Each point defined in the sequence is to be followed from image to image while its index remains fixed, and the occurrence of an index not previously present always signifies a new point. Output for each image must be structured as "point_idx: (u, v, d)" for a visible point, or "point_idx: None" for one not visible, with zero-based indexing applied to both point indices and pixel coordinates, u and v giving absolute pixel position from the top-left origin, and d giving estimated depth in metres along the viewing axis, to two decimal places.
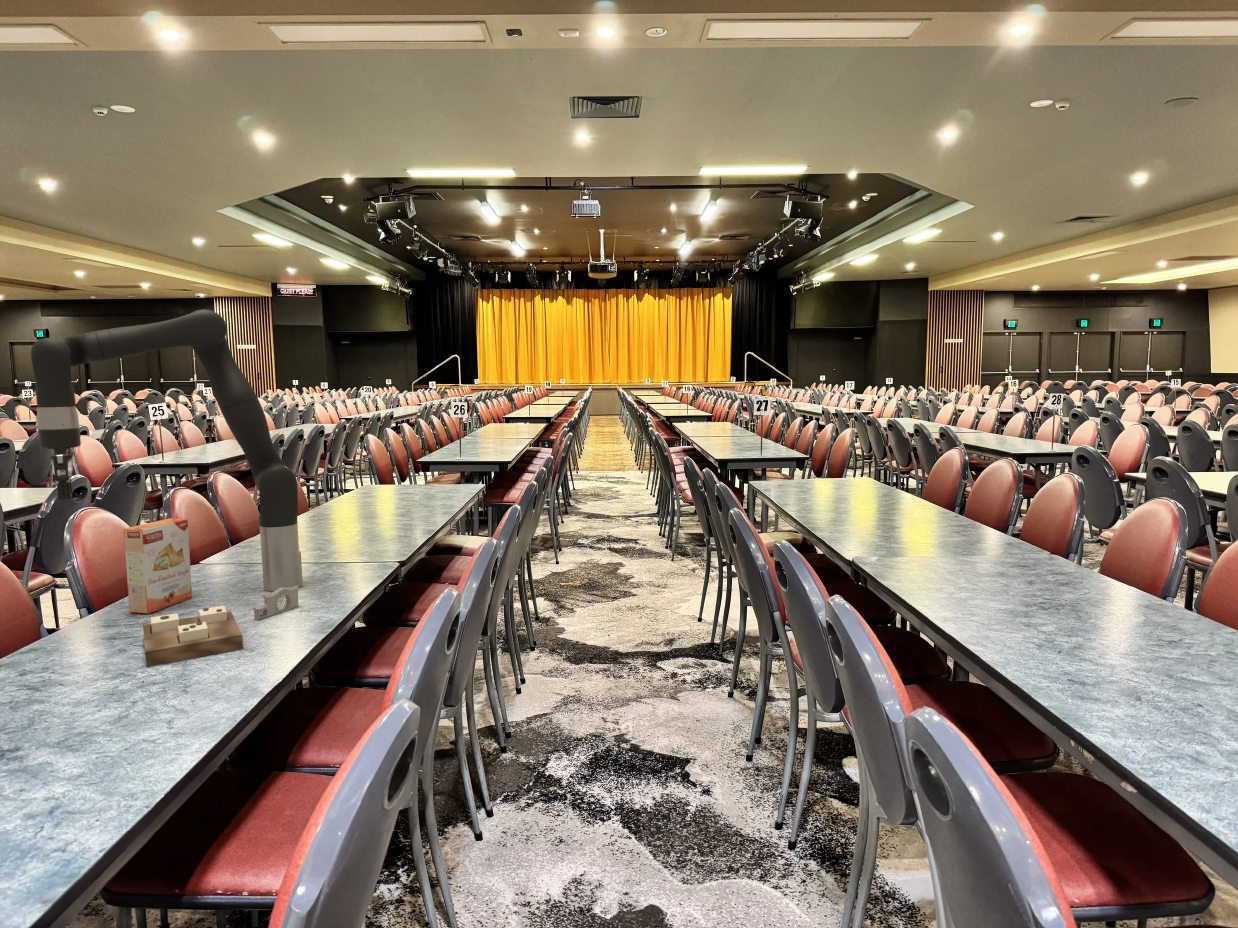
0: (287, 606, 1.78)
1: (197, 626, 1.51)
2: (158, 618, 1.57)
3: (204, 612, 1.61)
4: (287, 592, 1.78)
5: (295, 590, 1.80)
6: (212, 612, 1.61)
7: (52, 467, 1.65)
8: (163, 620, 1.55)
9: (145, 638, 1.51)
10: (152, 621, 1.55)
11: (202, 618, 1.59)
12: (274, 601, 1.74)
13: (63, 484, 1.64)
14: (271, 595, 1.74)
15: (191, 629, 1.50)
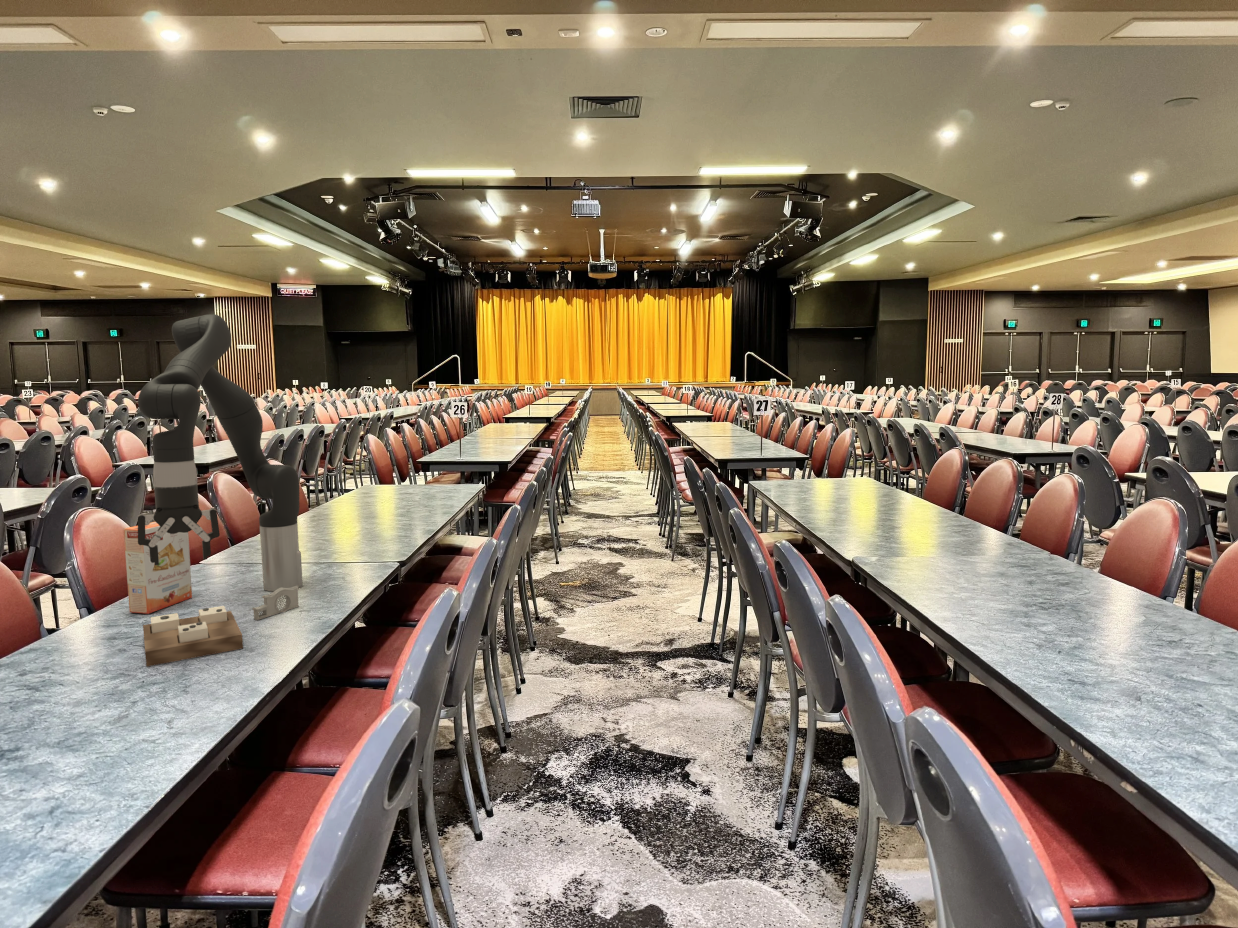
0: (287, 606, 1.78)
1: (197, 626, 1.51)
2: (158, 618, 1.57)
3: (204, 612, 1.61)
4: (287, 592, 1.77)
5: (295, 590, 1.79)
6: (212, 612, 1.61)
7: (198, 526, 1.49)
8: (163, 620, 1.55)
9: (145, 638, 1.51)
10: (152, 621, 1.55)
11: (202, 618, 1.59)
12: (274, 601, 1.74)
13: (209, 541, 1.52)
14: (271, 595, 1.74)
15: (191, 629, 1.50)
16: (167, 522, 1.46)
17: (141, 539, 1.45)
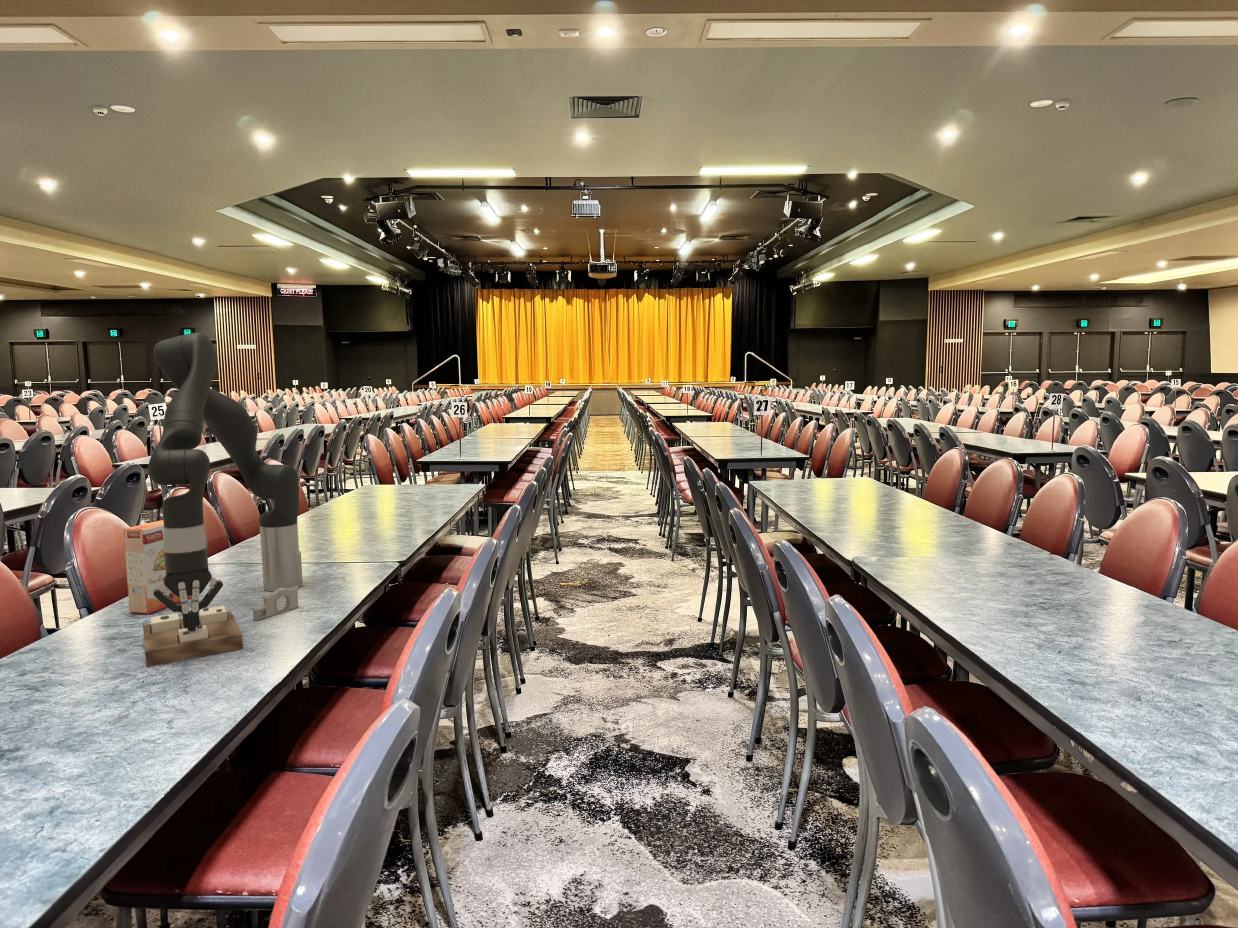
0: (287, 606, 1.78)
1: (197, 629, 1.52)
2: (158, 618, 1.57)
3: (204, 612, 1.61)
4: (287, 592, 1.77)
5: (295, 590, 1.79)
6: (212, 612, 1.61)
7: None
8: (163, 620, 1.55)
9: (145, 638, 1.51)
10: (152, 621, 1.55)
11: (202, 618, 1.59)
12: (273, 601, 1.74)
13: None
14: (270, 595, 1.73)
15: (191, 632, 1.50)
16: (180, 588, 1.48)
17: (175, 606, 1.48)
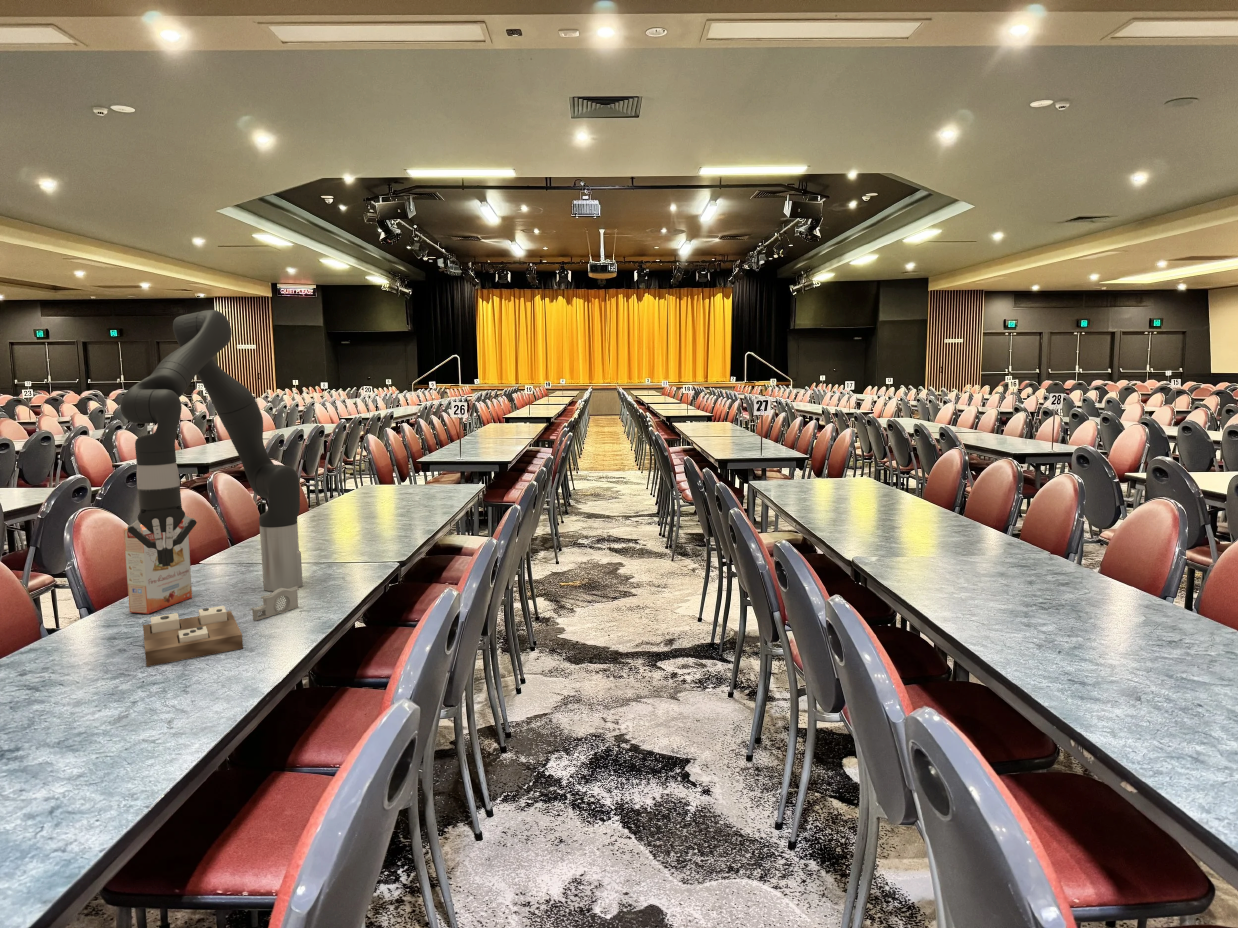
0: (286, 607, 1.78)
1: (197, 631, 1.52)
2: (158, 618, 1.57)
3: (204, 612, 1.61)
4: (286, 593, 1.77)
5: (295, 591, 1.79)
6: (212, 612, 1.61)
7: None
8: (163, 620, 1.55)
9: (145, 638, 1.51)
10: (152, 621, 1.55)
11: (202, 618, 1.59)
12: (273, 602, 1.74)
13: (172, 548, 1.56)
14: (270, 596, 1.73)
15: (191, 633, 1.50)
16: (154, 524, 1.52)
17: (149, 542, 1.52)
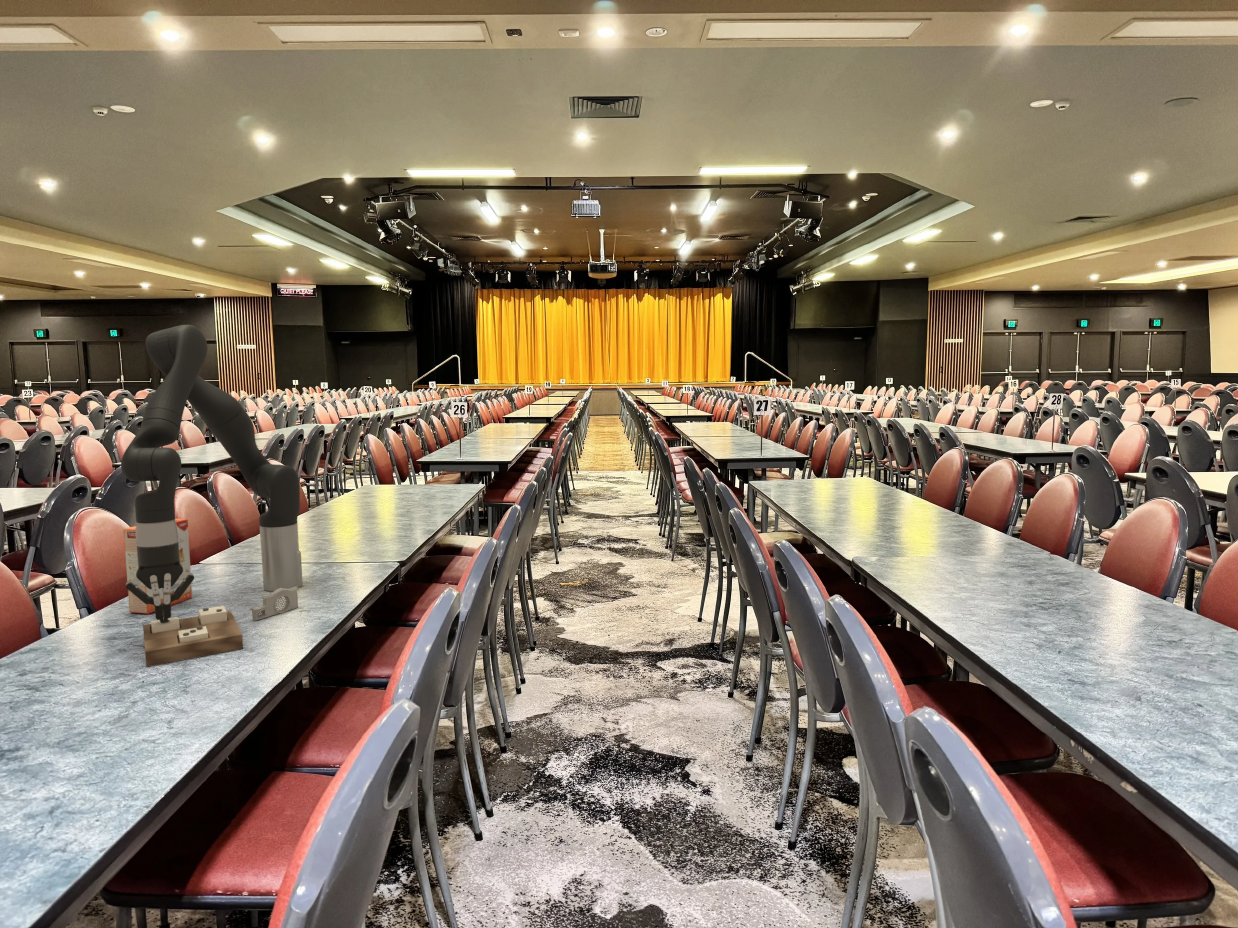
0: (286, 607, 1.77)
1: (197, 631, 1.52)
2: (158, 622, 1.57)
3: (204, 612, 1.61)
4: (286, 593, 1.77)
5: (294, 591, 1.79)
6: (212, 612, 1.61)
7: (170, 587, 1.56)
8: (163, 624, 1.56)
9: (145, 638, 1.51)
10: (152, 625, 1.55)
11: (202, 618, 1.59)
12: (273, 602, 1.74)
13: None
14: (269, 596, 1.73)
15: (191, 633, 1.50)
16: (152, 581, 1.53)
17: (147, 598, 1.54)
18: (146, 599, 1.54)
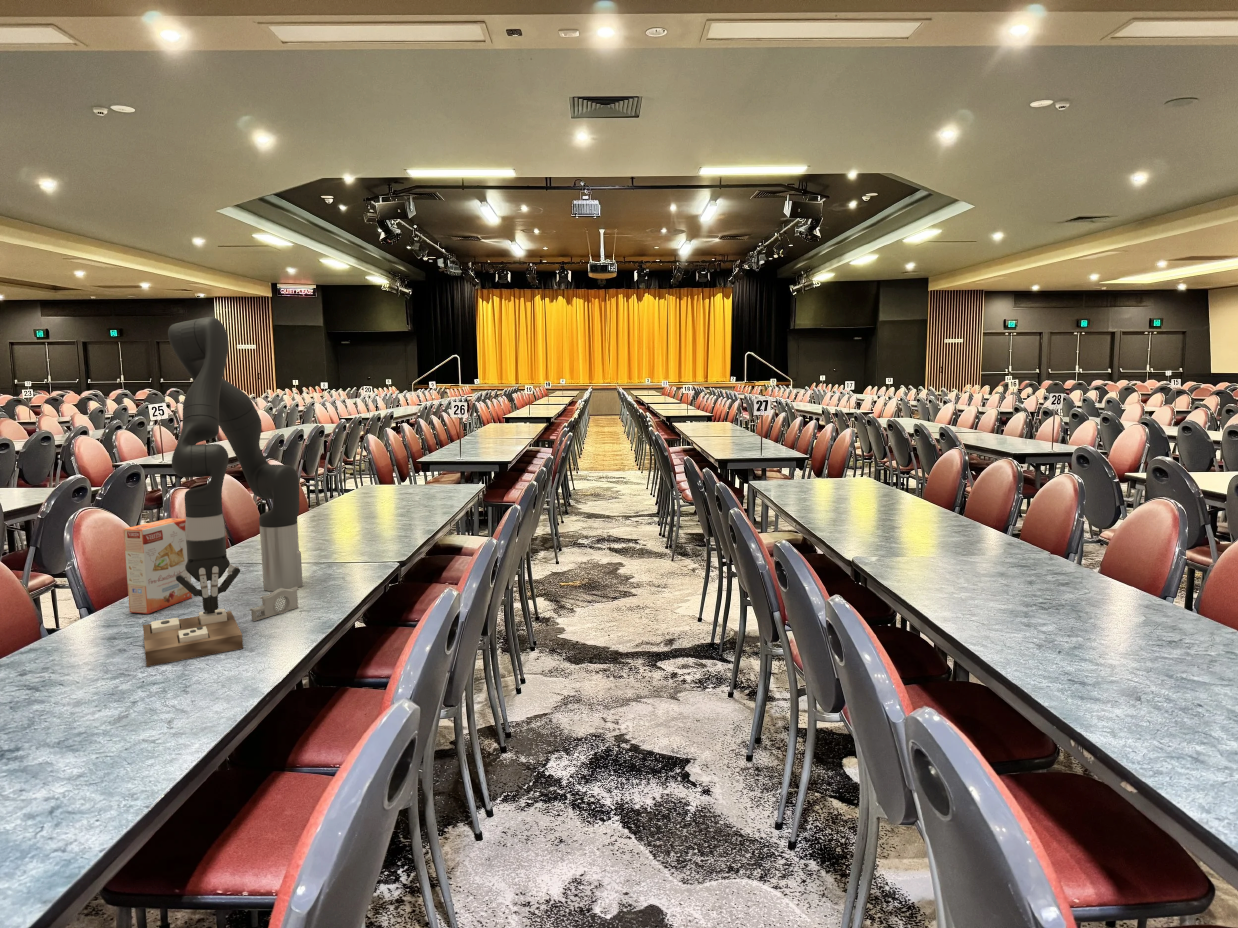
0: (286, 607, 1.77)
1: (197, 631, 1.52)
2: (158, 623, 1.57)
3: (204, 615, 1.61)
4: (286, 593, 1.76)
5: (294, 591, 1.78)
6: (212, 615, 1.61)
7: None
8: (163, 625, 1.56)
9: (145, 638, 1.51)
10: (152, 626, 1.55)
11: (202, 621, 1.59)
12: (272, 602, 1.73)
13: None
14: (269, 596, 1.73)
15: (191, 633, 1.50)
16: (200, 573, 1.58)
17: (196, 590, 1.59)
18: (195, 591, 1.59)
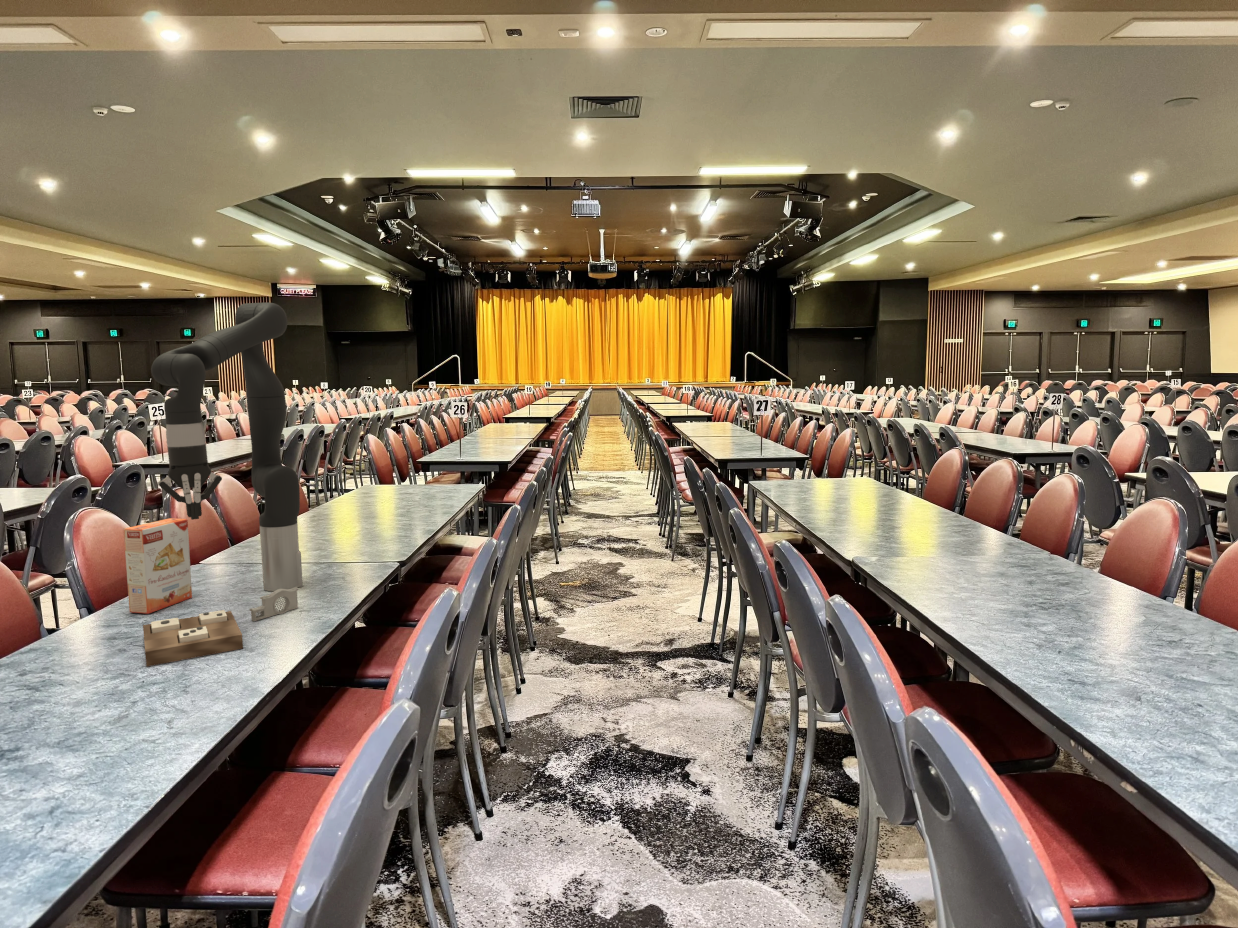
0: (286, 607, 1.77)
1: (197, 631, 1.52)
2: (158, 623, 1.57)
3: (204, 616, 1.61)
4: (286, 593, 1.76)
5: (294, 591, 1.78)
6: (212, 616, 1.61)
7: (200, 486, 1.66)
8: (163, 625, 1.56)
9: (145, 638, 1.51)
10: (152, 626, 1.55)
11: (202, 622, 1.59)
12: (272, 602, 1.73)
13: None
14: (269, 596, 1.73)
15: (191, 633, 1.50)
16: (183, 479, 1.63)
17: (179, 496, 1.64)
18: (178, 497, 1.64)
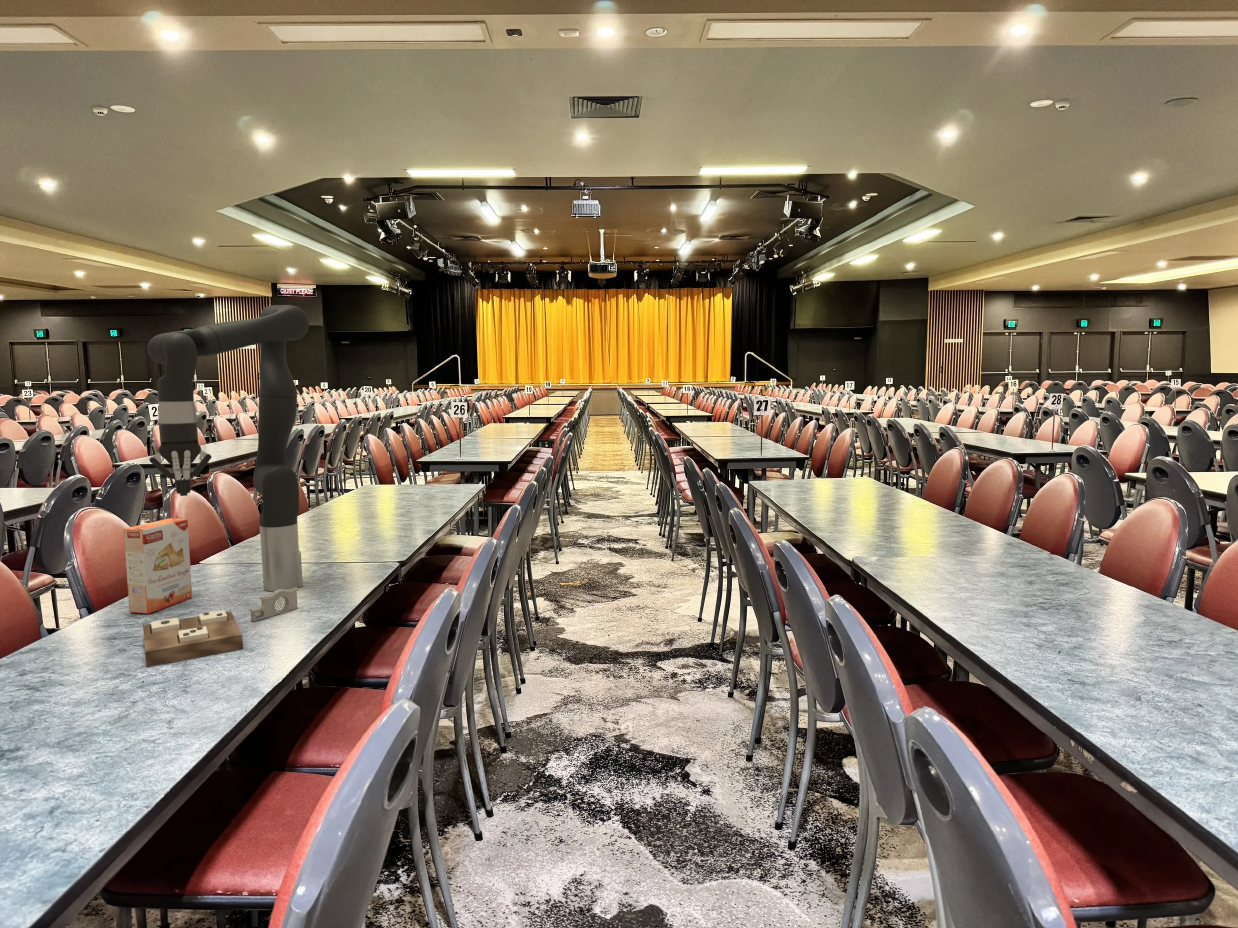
0: (285, 608, 1.77)
1: (197, 631, 1.52)
2: (158, 623, 1.57)
3: (204, 616, 1.61)
4: (285, 594, 1.76)
5: (294, 592, 1.78)
6: (212, 616, 1.61)
7: (190, 463, 1.69)
8: (163, 625, 1.56)
9: (145, 638, 1.51)
10: (152, 626, 1.55)
11: (202, 622, 1.59)
12: (271, 603, 1.73)
13: (189, 480, 1.71)
14: (268, 596, 1.73)
15: (191, 633, 1.50)
16: (173, 456, 1.67)
17: (169, 473, 1.67)
18: (168, 473, 1.67)
